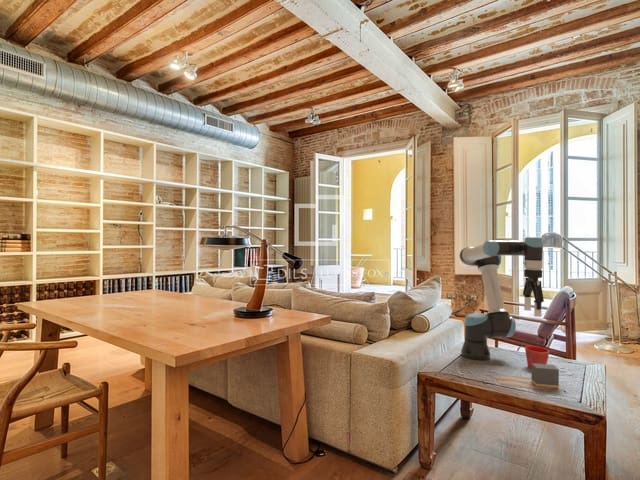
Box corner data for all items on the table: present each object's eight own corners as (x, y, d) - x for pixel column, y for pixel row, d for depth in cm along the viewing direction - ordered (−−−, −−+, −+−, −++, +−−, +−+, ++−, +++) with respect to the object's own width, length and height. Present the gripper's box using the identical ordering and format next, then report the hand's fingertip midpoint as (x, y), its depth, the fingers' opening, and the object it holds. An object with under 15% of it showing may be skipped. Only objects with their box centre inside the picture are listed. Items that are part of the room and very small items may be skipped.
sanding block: (531, 380, 170) (531, 363, 170) (552, 382, 169) (553, 364, 169) (536, 385, 165) (536, 367, 164) (558, 387, 163) (558, 369, 163)
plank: (493, 376, 177) (493, 374, 177) (553, 381, 172) (553, 379, 172) (500, 387, 164) (500, 385, 164) (565, 393, 159) (565, 391, 159)
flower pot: (542, 364, 194) (542, 346, 194) (553, 372, 184) (553, 352, 183) (521, 363, 196) (521, 345, 195) (530, 371, 185) (531, 352, 184)
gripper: (516, 266, 189) (515, 307, 190) (534, 271, 165) (533, 318, 165) (532, 267, 188) (531, 308, 188) (552, 271, 163) (551, 319, 164)
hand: (532, 313), depth 177 cm, fingers open, 13 cm apart
